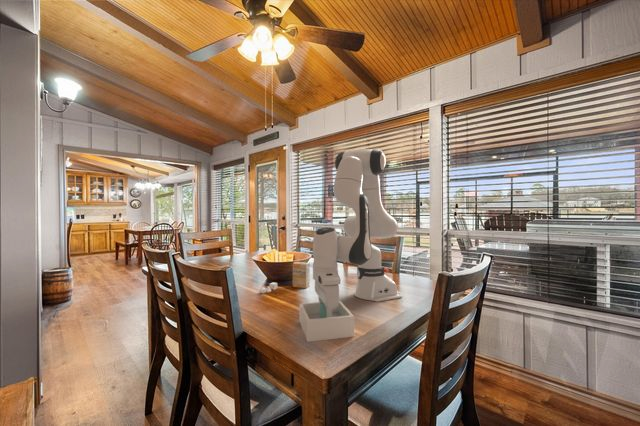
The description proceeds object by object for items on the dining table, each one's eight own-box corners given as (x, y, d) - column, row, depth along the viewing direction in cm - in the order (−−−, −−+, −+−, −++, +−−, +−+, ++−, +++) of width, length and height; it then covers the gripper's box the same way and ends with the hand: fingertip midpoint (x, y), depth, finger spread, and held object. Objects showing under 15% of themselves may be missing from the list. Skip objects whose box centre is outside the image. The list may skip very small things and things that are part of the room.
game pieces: (272, 288, 154) (272, 282, 154) (277, 289, 152) (277, 282, 152) (258, 294, 143) (258, 287, 143) (263, 295, 142) (263, 288, 141)
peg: (329, 326, 106) (329, 301, 105) (332, 330, 102) (331, 305, 101) (318, 327, 105) (318, 302, 104) (320, 331, 101) (320, 306, 100)
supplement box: (292, 287, 154) (292, 263, 153) (296, 284, 158) (295, 261, 158) (306, 288, 151) (306, 264, 150) (310, 286, 155) (309, 262, 155)
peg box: (340, 318, 113) (340, 300, 112) (354, 336, 97) (354, 316, 97) (299, 322, 109) (299, 303, 109) (307, 341, 93) (307, 320, 93)
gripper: (310, 267, 112) (310, 302, 112) (323, 281, 92) (323, 324, 92) (326, 266, 113) (326, 301, 114) (342, 280, 93) (342, 322, 94)
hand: (325, 312), depth 103 cm, fingers open, 8 cm apart
